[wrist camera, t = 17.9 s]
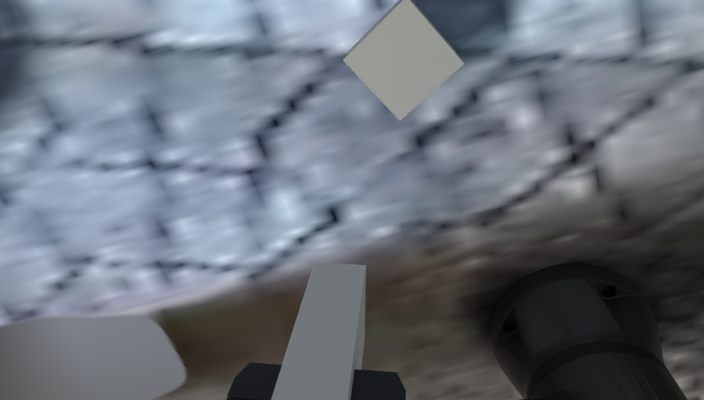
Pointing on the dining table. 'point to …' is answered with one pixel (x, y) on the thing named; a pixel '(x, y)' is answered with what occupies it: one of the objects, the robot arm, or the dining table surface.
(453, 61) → the grey block
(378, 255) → the dining table surface
